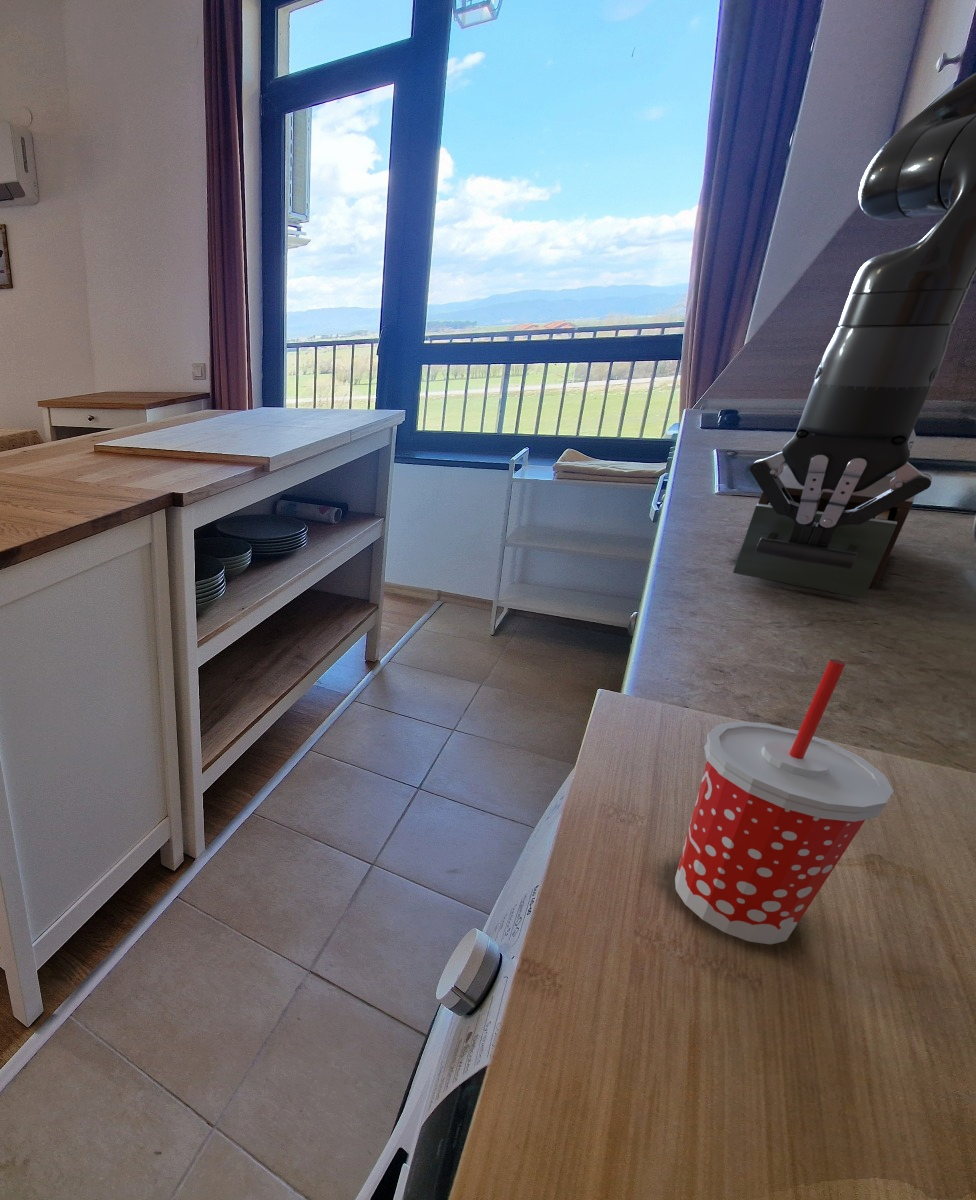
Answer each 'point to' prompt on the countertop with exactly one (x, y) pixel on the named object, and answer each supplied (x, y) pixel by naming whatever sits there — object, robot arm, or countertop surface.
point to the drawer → (815, 551)
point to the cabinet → (863, 496)
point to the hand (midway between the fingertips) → (801, 559)
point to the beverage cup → (773, 821)
